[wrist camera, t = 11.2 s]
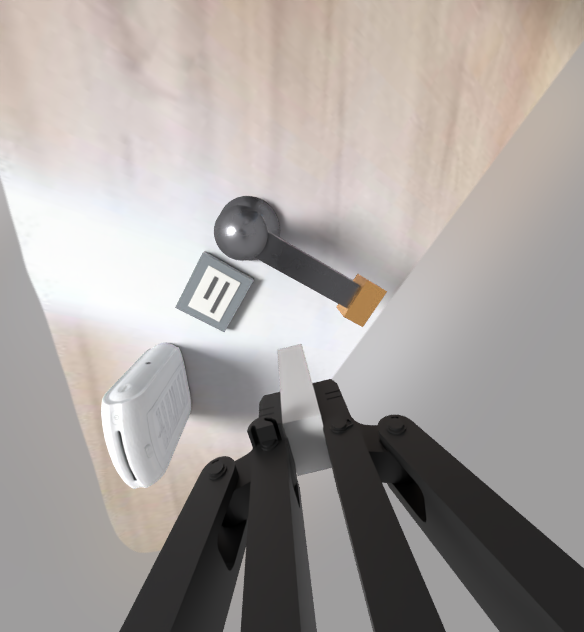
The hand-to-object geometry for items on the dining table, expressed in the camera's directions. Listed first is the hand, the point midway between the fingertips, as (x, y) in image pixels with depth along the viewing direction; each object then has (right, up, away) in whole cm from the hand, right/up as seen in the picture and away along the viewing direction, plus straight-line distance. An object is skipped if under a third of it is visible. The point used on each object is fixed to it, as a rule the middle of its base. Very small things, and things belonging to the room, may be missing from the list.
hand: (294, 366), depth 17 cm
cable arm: (0, +8, +8) cm, 11 cm away
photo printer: (-15, -5, +18) cm, 24 cm away
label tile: (-9, +6, +15) cm, 18 cm away
